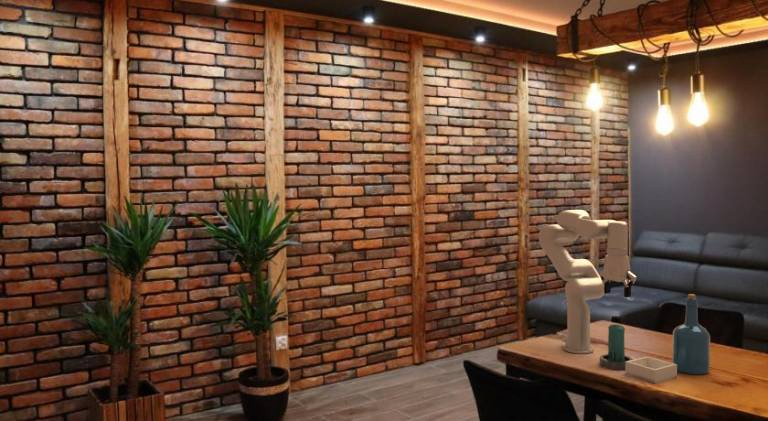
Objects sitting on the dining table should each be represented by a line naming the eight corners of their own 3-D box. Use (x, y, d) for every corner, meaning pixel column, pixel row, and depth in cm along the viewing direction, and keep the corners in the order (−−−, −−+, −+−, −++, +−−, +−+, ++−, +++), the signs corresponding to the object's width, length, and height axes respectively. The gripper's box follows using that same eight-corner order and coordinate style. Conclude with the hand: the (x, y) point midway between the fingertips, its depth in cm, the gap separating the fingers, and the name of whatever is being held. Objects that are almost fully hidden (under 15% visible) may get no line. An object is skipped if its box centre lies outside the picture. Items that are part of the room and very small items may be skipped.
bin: (625, 374, 249) (625, 361, 248) (647, 368, 255) (647, 356, 255) (655, 383, 238) (655, 370, 237) (676, 377, 244) (677, 364, 244)
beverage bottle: (625, 364, 262) (626, 315, 261) (624, 368, 256) (624, 318, 255) (608, 362, 265) (608, 314, 263) (606, 366, 259) (607, 317, 257)
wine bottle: (707, 377, 244) (709, 299, 242) (669, 372, 251) (670, 295, 249) (711, 368, 255) (712, 293, 254) (674, 363, 262) (676, 290, 261)
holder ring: (593, 364, 262) (593, 356, 262) (613, 359, 269) (613, 352, 268) (618, 372, 252) (618, 364, 251) (639, 366, 258) (639, 359, 258)
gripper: (593, 251, 263) (593, 292, 264) (629, 255, 248) (629, 299, 249) (606, 249, 267) (605, 291, 268) (642, 253, 252) (641, 297, 253)
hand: (617, 295), depth 258 cm, fingers open, 9 cm apart
